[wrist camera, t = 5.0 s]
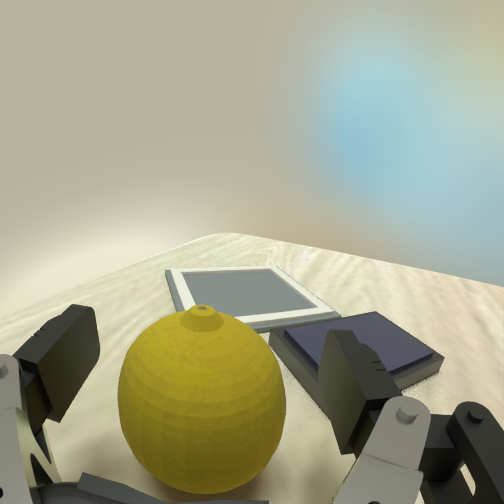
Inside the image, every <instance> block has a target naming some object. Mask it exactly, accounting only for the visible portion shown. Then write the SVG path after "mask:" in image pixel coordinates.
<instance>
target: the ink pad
mask: <svg viewBox="0 0 504 504" xmlns="http://www.w3.org/2000/svg"><path fill="white" fill-rule="evenodd" d="M330 329H350V330H352V331H353V333H354V334H355V336H356V337H357V339H358V341H359V342H360V344H364V343H365V344H366V345H367V346H369V347H370V348H371V349H373V350H374V351H375V352H376V353H377V355H378V356H379V358H380V360H381V363H383V364H384V366H385V367H386V371H388V372H389V374H390V375H391V377H392V379H393V380H394V382H395V383H396V385H397V387H398V388H399V390H400V391H401V390H403V389H405V388H407V387H409V386H411V385H413V384H415V383H417V382H419V381H421V380H423V379H425V378H427V377H429V376H431V375H433V374H434V373H436V372H438V371H439V369H440V367H441V365H442V363H443V360H444V358H445V357H443V356H442V355H440V354H439V353H437V352H436V351H434V350H433V349H432V348H430V347H429V346H427V345H426V344H424V343H423V342H421V341H420V340H418V339H417V338H415V337H414V336H412V335H411V334H409V333H408V332H406V331H405V330H403V329H402V328H400V327H399V326H397V325H396V324H394V323H393V322H391V321H390V320H388V319H387V318H385V317H384V316H382V315H381V314H379V313H378V312H376V311H374V312H369V313H364V314H359V315H354V316H348V317H343V318H337V319H331V320H325V321H319V322H313V323H307V324H300V325H294V326H287V327H280V328H272V329H270V336H269V344H270V346H271V347H272V348H273V350H274V351H275V352H276V353H277V355H278V356H279V357H280V358H281V360H282V361H283V362H284V364H285V365H286V366H287V367H288V369H289V370H290V371H291V372H292V374H293V375H294V376H295V377H296V379H297V380H298V381H299V382H300V383H301V385H302V386H303V387H304V388H305V390H306V391H307V392H308V393H309V395H310V396H311V397H312V398H313V399H314V401H315V402H316V403H317V404H318V405H319V407H320V408H321V409H322V410H323V411H324V413H325V414H326V415H327V416H328V417H329V414H328V411H327V408H326V405H325V402H324V398H323V395H322V392H321V389H320V386H319V382H318V368H319V364H320V360H321V356H322V352H323V348H324V343H325V339H326V335H327V332H328V331H329V330H330ZM329 419H330V417H329Z"/></svg>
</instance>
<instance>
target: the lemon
mask: <svg viewBox="0 0 504 504" xmlns="http://www.w3.org/2000/svg"><path fill="white" fill-rule="evenodd" d="M118 408H119V416H120V423H121V428H122V431H123V434H124V436H125V438H126V440H127V442H128V444H129V446H130V448H131V450H132V452H133V454H134V456H135V457H136V459H137V460H138V461H139V462H140V463H141V465H142V466H143V467H144V468H146V469H147V470H148V471H149V472H150V473H151V474H152V475H153V476H154V477H155V478H157V479H158V480H160V481H162V482H164V483H165V484H167V485H169V486H171V487H173V488H175V489H178V490H182V491H186V492H189V493H196V494H215V493H220V492H226V491H230V490H232V489H235V488H237V487H239V486H241V485H244V484H246V483H247V482H249V481H250V480H251V479H252V478H254V477H255V476H256V475H257V474H258V473H260V472H261V471H262V470H263V469H264V468H265V466H266V465H267V464H268V462H269V460H270V459H271V457H272V456H273V454H274V452H275V451H276V449H277V447H278V445H279V442H280V439H281V436H282V431H283V426H284V421H285V415H286V397H285V389H284V384H283V379H282V374H281V369H280V366H279V363H278V361H277V359H276V357H275V355H274V354H273V352H272V350H271V349H270V347H269V346H268V344H267V343H266V341H265V340H264V339H263V338H262V337H261V336H260V335H259V334H258V333H257V332H255V331H254V330H253V329H252V328H251V327H249V326H248V325H247V324H245V323H243V322H242V321H240V320H238V319H236V318H234V317H233V316H230V315H227V314H225V313H221V312H217V311H216V310H215V309H214V308H213V307H211V306H208V305H195V306H192V307H191V308H190V309H189V310H185V311H180V312H176V313H173V314H171V315H168V316H166V317H164V318H161V319H159V320H158V321H156V322H155V323H153V324H152V325H151V326H149V327H148V328H146V329H145V330H144V331H143V332H142V333H141V334H140V335H139V336H138V337H137V339H136V340H135V341H134V342H133V344H132V345H131V347H130V348H129V350H128V352H127V354H126V357H125V359H124V362H123V366H122V369H121V373H120V378H119V383H118Z"/></svg>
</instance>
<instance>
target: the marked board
mask: <svg viewBox="0 0 504 504" xmlns="http://www.w3.org/2000/svg"><path fill="white" fill-rule="evenodd" d="M165 275H166V279H167V282H168V285H169V288H170V292H171V295H172V298H173V301H174V305H175V308H176V311H177V312H180V311H185V310H189V309H190V308H191V307H192V306H195V305H208V306H211V307H213V308H214V309H215V310H216V311H217V312H221V313H225V314H227V315H230V316H233V317H234V318H236V319H238V320H240V321H242V322H243V323H245V324H247V325H248V326H249V327H251V328H252V329H253V330H254V331H255V332H257V333H261V332H268V331H270V329H272V328H280V327H287V326H294V325H300V324H307V323H313V322H319V321H325V320H331V319H337V318H341V315H340V314H338V313H337V312H336V311H334V310H333V309H332V308H331V307H329V306H328V305H327V304H325V303H324V302H323V301H321V300H320V299H319V298H317V297H316V296H315V295H314V294H312V293H311V292H310V291H308V290H307V289H306V288H304V287H303V286H302V285H300V284H299V283H298V282H297V281H295V280H294V279H293V278H291V277H290V276H289V275H287V274H286V273H285V272H283V271H282V270H281V269H279V268H278V267H277V266H275V265H267V266H241V267H213V268H182V269H170V270H165Z"/></svg>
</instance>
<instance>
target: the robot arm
mask: <svg viewBox="0 0 504 504" xmlns="http://www.w3.org/2000/svg"><path fill="white" fill-rule="evenodd" d="M99 355H100V343H99V337H98V331H97V324H96V318H95V312H94V310H93V308H92V307H88V306H82V305H76V304H72V305H70V306H69V307H68V308H67V309H66V310H65V311H64V312H63V313H62V314H61V315H58V316H56V317H54V318H52V319H50V320H48V321H47V322H46V323H45V324H44V325H43V326H42V327H41V328H40V330H38V331H37V332H36V333H34V336H31V337H30V338H29V339H28V340H27V341H26V342H25V343H24V344H23V345H22V346H21V347H20V348H19V349H18V350H17V351H16V352H15V353H14V354H13V355H12V356H10V355H6V354H0V504H269V501H251V500H225V499H218V500H210V501H200V502H188V503H167V502H164V501H161V500H159V499H156V498H154V497H151V496H149V495H147V494H144V493H142V492H140V491H138V490H135V489H133V488H131V487H129V486H127V485H125V484H122V483H118V482H114V481H111V480H107V479H103V478H100V477H97V476H94V475H90V474H87V473H84V472H83V473H82V475H81V478H80V480H79V482H62V480H61V478H60V476H59V474H58V471H57V468H56V465H55V461H54V458H53V454H52V451H51V447H50V443H49V439H48V435H47V431H46V428H45V426H44V424H43V423H44V422H45V420H46V418H47V419H50V420H53V421H56V422H58V423H60V421H61V420H62V418H63V416H64V415H65V413H66V411H67V410H68V408H69V406H70V405H71V403H72V401H73V400H74V398H75V396H76V395H77V393H78V391H79V390H80V388H81V387H82V385H83V383H84V382H85V380H86V379H87V377H88V376H89V374H90V372H91V371H92V369H93V368H94V366H95V365H96V363H97V361H98V359H99ZM318 382H319V386H320V389H321V392H322V395H323V398H324V402H325V405H326V408H327V411H328V414H329V417H330V421H331V424H332V427H333V430H334V433H335V437H336V440H337V443H338V446H339V450H340V453H341V455H344V454H352V453H354V455H355V458H356V460H355V462H354V464H353V465H352V467H351V469H350V471H349V472H348V474H347V476H346V477H345V479H344V481H343V482H342V484H341V486H340V487H339V489H338V491H337V492H336V494H335V495H334V497H333V498H332V500H331V502H330V503H329V504H415V501H416V498H417V495H418V492H419V489H420V492H421V495H422V497H423V500H424V503H425V504H504V431H503V429H502V428H501V426H500V425H499V423H498V422H497V421H496V419H495V418H494V416H493V415H492V414H491V412H490V411H489V410H488V409H487V408H486V407H484V406H483V405H481V404H479V403H476V402H470V401H467V402H463V403H460V404H459V405H458V406H457V407H456V409H455V411H454V412H453V414H452V415H438V414H430V411H429V410H428V408H427V407H426V406H425V405H424V404H423V403H422V402H420V401H419V400H417V399H414V398H411V397H406V396H403V395H402V393H401V391H400V390H399V388H398V387H397V385H396V383H395V382H394V380H393V379H392V377H391V375H390V374H389V372H388V371H386V367H385V366H384V364H383V363H381V360H380V358H379V356H378V355H377V353H376V352H375V351H374V350H373V349H371V348H370V347H369V346H367V345H366V344H365V343H364V344H360V342H359V341H358V339H357V337H356V336H355V334H354V333H353V331H352V330H350V329H330V330H329V331H328V332H327V335H326V339H325V343H324V348H323V352H322V356H321V360H320V364H319V368H318ZM464 464H466V466H467V468H468V470H469V472H470V474H471V476H472V478H473V480H474V482H475V486H476V489H475V493H474V496H473V495H472V493H471V491H470V489H469V487H468V485H467V483H466V481H465V479H464V477H463V474H462V472H461V470H460V469H461V467H462V466H463V465H464Z"/></svg>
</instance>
